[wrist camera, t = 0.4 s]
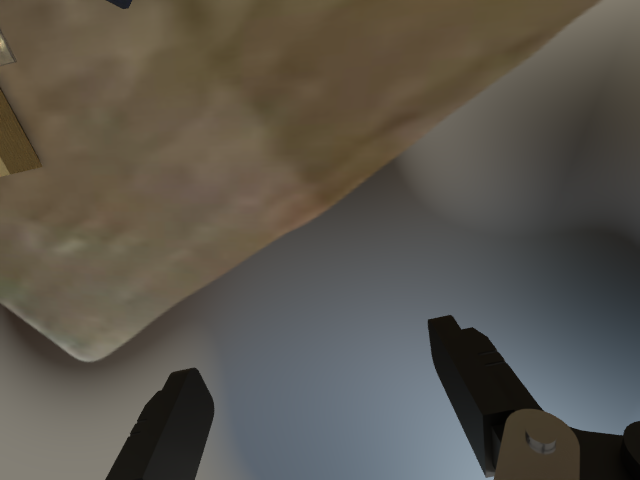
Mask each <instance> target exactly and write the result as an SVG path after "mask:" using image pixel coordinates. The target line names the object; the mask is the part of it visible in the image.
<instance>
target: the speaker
mask: <svg viewBox="0 0 640 480" xmlns="http://www.w3.org/2000/svg"><path fill="white" fill-rule="evenodd" d="M107 1H109V2H110V3H112V4H114V5H116V6H118V7H120V8H122V9H126V8H129V6H130V4H131V2H132V0H107Z"/></svg>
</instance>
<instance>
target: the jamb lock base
mask: <svg viewBox="0 0 640 480" xmlns="http://www.w3.org/2000/svg"><path fill="white" fill-rule="evenodd" d="M14 62H17V61H16V60H15V58H14V56H13V54H12V52H11V50H10V48H9V46H8V44H7V42H6V40H5V38H4V36H3V34H2V32H1V30H0V66H2V65H6V64H10V63H14Z"/></svg>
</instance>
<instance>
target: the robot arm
mask: <svg viewBox="0 0 640 480" xmlns="http://www.w3.org/2000/svg"><path fill="white" fill-rule="evenodd" d="M428 330H429V338H430V346H431V354H432V359H433V363H434V366H435V369H436V371H437V374H438V376H439V378H440V380H441V383H442V385H443V387H444V389H445V391H446V393H447V396H448V398H449V400H450V402H451V404H452V406H453V408H454V410H455V413H456V415H457V417H458V419H459V421H460V423H461V425H462V428H463V429H464V432H465V434H466V436H467V438H468V440H469V443H470V445H471V447H472V449H473V451H474V453H475V455H476V457H477V460H478V462H479V464H480V466H481V468H482V470H483V472H484V475H485V477H486V478H487V477H492V476H494V480H640V421H638V422H634V423H632V424H630V425H629V426H627V427H626V429H625V430H624V435H623V436H622V435H614V434H605V433H596V432H588V431H582V430H578V429H574V428H572V427H569V426H567V424H565V423H564V422H563V421H562V420H560V419H559V418H557V417H556V416H554V415H552V414H550V413H547V412H545V411H544V410H542V408H541V407H540V406H539V405H538V404H537V402H536V401H535V400H534V398H533V397H532V396H531V395H530V393H529V392H528V390H527V389H526V388H525V386H524V385H523V384H522V382H521V381H520V380H519V378H518V377H517V376H516V374H515V373H514V372H513V370H512V369H511V368H510V366H509V365H508V364H507V363H506V362H505V360H504V358H503V357H502V356H501V354H500V353H499V352H497V349H496V348H495V346H494V345H493V344H492V342H491V341H490V340H489V338H488V337H487V336H485V335H484V334H482V333H481V332H479V331H477V330H476V329H474V328H473V327H472V328H467V329H462V330H461V328H460V327H459V325H458V324H457V322H456V321H455V319H454V318H453V317H452V316H451V315H448V316H443V317H438V318H434V319H428ZM213 417H214V402H213V399H212V396H211V394H210V393H209V390H208V388H207V387H206V384H205V383H204V381H203V379H202V377H201V375H200V373H199V371H198V370H197V369H196V368H190V369H186V370H180V371H176V372H173V373H171V374H170V376H169V377H168V380H167V381H166V383H165V385H164V387H163V389H162V390H161V391H158V392H157V393H156V394H155V395H154V396H153V397H152V398H151V400H150V401H149V402H148V403H147V404H146V405H145V407H144V409H143V411H142V412H141V414H140V416H139V418H138V420H137V424H135V425H134V427H133V429H132V431H131V433H130V437H128V438H127V440H126V442H125V444H124V446H123V448H122V450H121V452H120V453H119V455H118V457H117V459H116V461H115V463H114V465H113V466H112V468H111V470H110V472H109V474H108V476H107V477H106V479H105V480H195V477H196V474H197V470H198V467H199V464H200V460H201V457H202V454H203V451H204V447H205V444H206V441H207V437H208V434H209V431H210V428H211V424H212V421H213Z"/></svg>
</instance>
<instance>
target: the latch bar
mask: <svg viewBox="0 0 640 480" xmlns="http://www.w3.org/2000/svg"><path fill="white" fill-rule="evenodd" d="M40 167H42V165H41V163H40V161H39V159H38V157H37V156H36V154H35V152H34V150H33V148H32V146H31V145H30V143H29V141H28V139H27V137H26V135H25V133H24V132H23V130H22V128H21V126H20V124H19V122H18V121H17V119H16V117H15V115H14V113H13V111H12V110H11V108H10V106H9V104H8V102H7V100H6V99H5V97H4V95H3V93H2V91H1V89H0V177H1V176H6V175H10V174H14V173H18V172H23V171H27V170H31V169H35V168H40Z"/></svg>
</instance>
